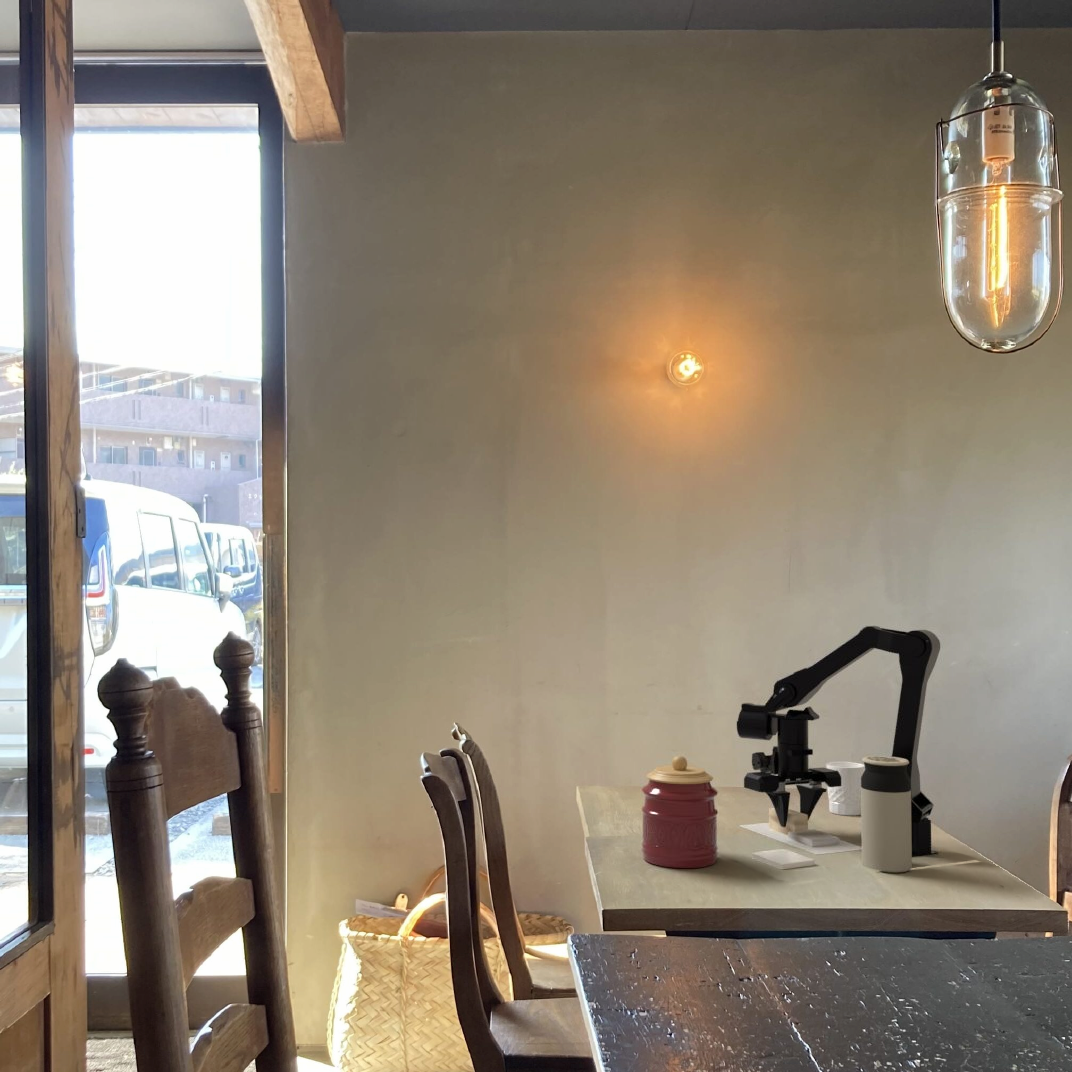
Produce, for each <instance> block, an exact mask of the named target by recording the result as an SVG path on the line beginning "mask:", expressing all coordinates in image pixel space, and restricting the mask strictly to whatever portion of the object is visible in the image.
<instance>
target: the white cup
mask: <svg viewBox="0 0 1072 1072" xmlns="http://www.w3.org/2000/svg"><path fill="white" fill-rule="evenodd" d="M825 768H828V769H832V770H836V771H838V772H839V774H840V775H841V777H842V786H839V787H828V786H827V785H826V789H827V799H828V808H829V810H828V811H829V812H830V813H831V814H834V815H838V816H840V815H841V816H849V817H850V816H861V777H862V775H863V773H864V771H865V765H864V763H859V762H854V761H829V762H826V763H825Z"/></svg>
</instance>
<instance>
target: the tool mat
mask: <svg viewBox="0 0 1072 1072" xmlns="http://www.w3.org/2000/svg"><path fill="white" fill-rule="evenodd" d="M738 827H741V828H743V829H746V830H749V831H752V832H754V833H758V834H760V835H763V836H765V837H768V838H770V839H773V840H776V841H778V842H782V843H783V844H786V845H790V846H792V847H795V848H798V849H800V850H803V851H805V852H809V853H811V854H814V855H816V856H817V855H827V854H835V853H836V854H837V853H845V852H852V851H853V852H854V851H862V846H859V845H857V844H854V843H851V842H847V841H845V840H842V839H839V844H837V845H827V846H818V847H810V846H808V845H805V844H802V843H799V842H796V841H794V840H791V839H788V835H785V834H783V833H780V832H777V831H774V830H771V829H769V822H763V823H761V822H760V823H752V824H740V825H738ZM808 830H811V829H809V828H808Z"/></svg>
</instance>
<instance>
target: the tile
mask: <svg viewBox="0 0 1072 1072" xmlns="http://www.w3.org/2000/svg"><path fill="white" fill-rule="evenodd" d="M750 856H751V859H752V860H755V861H758V862H760V863H763V864H766V865H768V866H772V867H774V868H776V869H779V870H786V869H787V870H788V869H789V870H790V869H796V868H802V867H810V866H815V863H816V861H815V860H816V859H814V858H810V857H808V856H806V855H802V854H800V853H797V852H793V851H792V850H788V849H786V848H779V849H772V850H771V849H770V850H764V851H757V852H756V851H755V852H751V853H750Z"/></svg>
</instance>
